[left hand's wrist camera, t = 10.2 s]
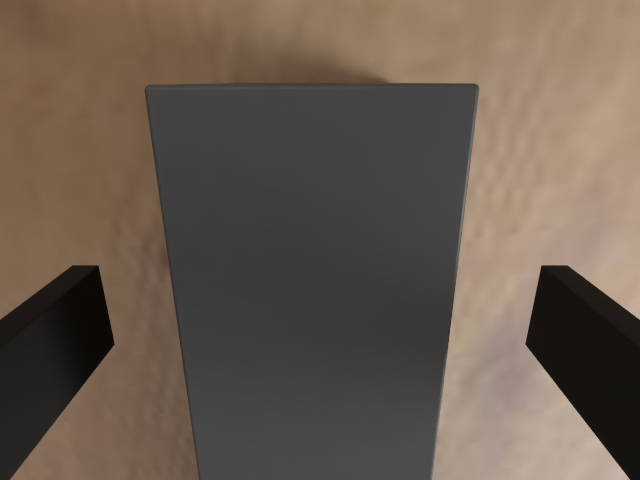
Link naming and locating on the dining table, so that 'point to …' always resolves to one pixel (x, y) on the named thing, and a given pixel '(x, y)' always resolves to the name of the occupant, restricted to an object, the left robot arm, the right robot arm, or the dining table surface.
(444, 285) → the post
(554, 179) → the dining table surface
